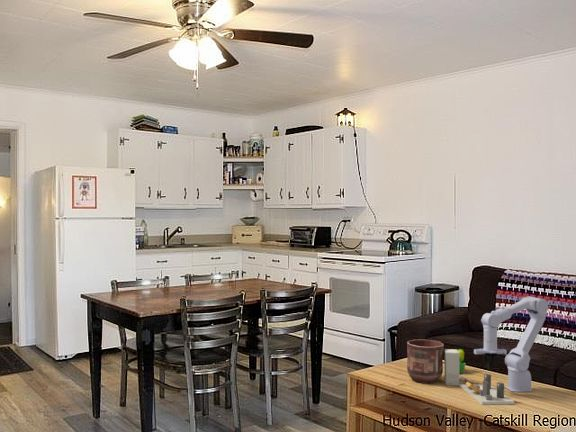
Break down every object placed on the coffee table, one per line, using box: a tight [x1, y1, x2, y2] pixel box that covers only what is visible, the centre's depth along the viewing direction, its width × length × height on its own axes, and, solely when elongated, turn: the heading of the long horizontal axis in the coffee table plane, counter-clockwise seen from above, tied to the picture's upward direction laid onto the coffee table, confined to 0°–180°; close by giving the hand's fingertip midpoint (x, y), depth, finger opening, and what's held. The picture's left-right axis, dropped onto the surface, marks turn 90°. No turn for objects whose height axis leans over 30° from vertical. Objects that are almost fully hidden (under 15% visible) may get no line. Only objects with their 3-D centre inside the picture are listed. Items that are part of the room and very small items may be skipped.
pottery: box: [406, 338, 445, 384], centre depth 263 cm, size 18×18×18 cm
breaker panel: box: [459, 373, 515, 406], centre depth 241 cm, size 14×24×7 cm, turn 4°
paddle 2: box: [482, 380, 490, 397], centre depth 233 cm, size 1×4×7 cm, turn 3°
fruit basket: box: [457, 348, 467, 374], centre depth 280 cm, size 11×9×11 cm
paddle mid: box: [465, 382, 480, 392], centre depth 240 cm, size 1×4×7 cm
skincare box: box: [443, 348, 461, 387], centre depth 258 cm, size 8×7×16 cm
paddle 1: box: [460, 375, 475, 385], centre depth 247 cm, size 1×4×7 cm
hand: (490, 369), depth 246 cm, fingers closed
